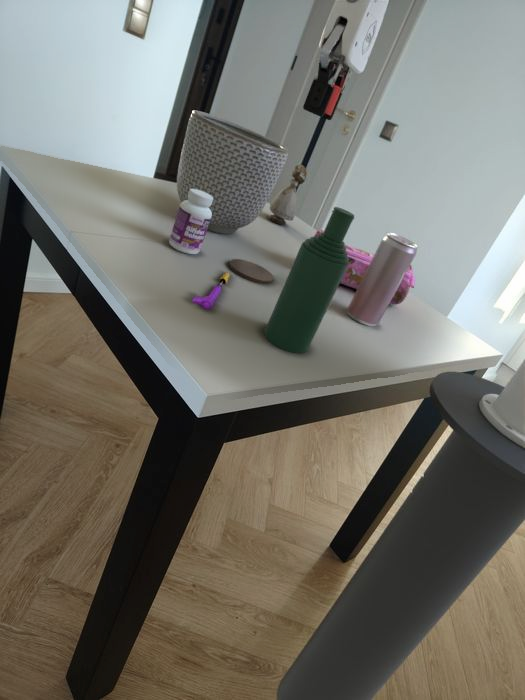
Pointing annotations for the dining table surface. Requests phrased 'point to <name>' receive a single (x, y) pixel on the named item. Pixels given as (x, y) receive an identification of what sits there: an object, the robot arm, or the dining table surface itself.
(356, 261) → the pencil case
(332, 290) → the bottle
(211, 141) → the planter
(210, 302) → the purple tool
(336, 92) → the cap
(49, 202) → the dining table surface
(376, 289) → the beverage can
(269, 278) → the coaster
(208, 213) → the pill bottle
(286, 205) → the figurine
